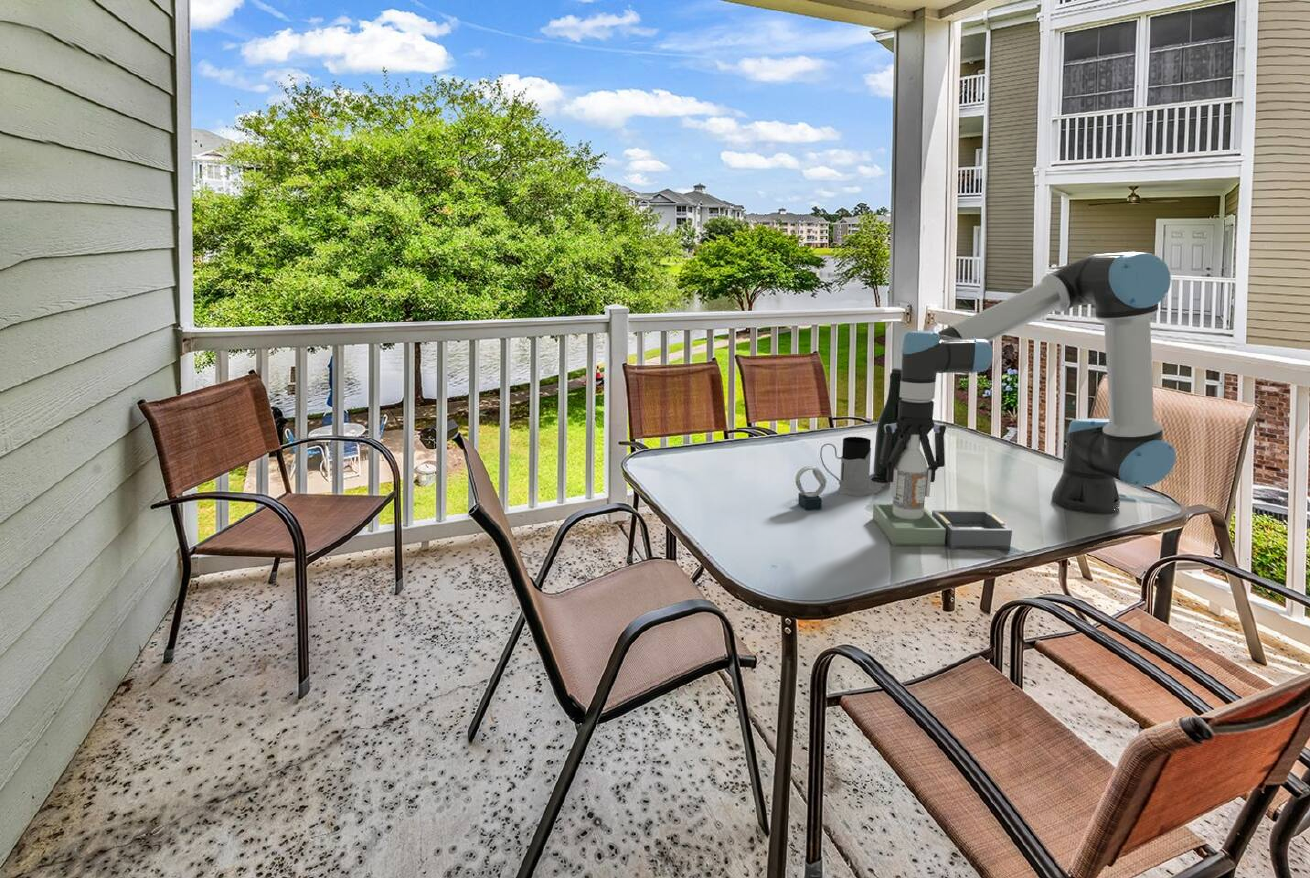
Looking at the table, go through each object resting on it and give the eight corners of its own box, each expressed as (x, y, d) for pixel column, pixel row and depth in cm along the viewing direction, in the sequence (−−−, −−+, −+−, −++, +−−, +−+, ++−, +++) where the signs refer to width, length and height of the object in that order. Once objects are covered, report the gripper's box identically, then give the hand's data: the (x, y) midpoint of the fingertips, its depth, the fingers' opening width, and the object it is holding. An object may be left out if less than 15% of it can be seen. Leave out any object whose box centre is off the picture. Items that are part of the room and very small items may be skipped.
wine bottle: (875, 480, 202) (882, 370, 195) (870, 471, 212) (876, 366, 205) (912, 481, 201) (920, 371, 193) (905, 472, 211) (913, 366, 203)
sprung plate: (982, 526, 162) (982, 523, 162) (1000, 542, 152) (1001, 539, 152) (939, 526, 163) (939, 523, 163) (955, 542, 153) (955, 539, 153)
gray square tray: (985, 528, 164) (987, 509, 163) (1010, 549, 151) (1012, 529, 150) (930, 528, 165) (932, 509, 163) (950, 549, 152) (952, 528, 151)
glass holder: (872, 496, 189) (875, 444, 185) (819, 494, 191) (821, 442, 188) (868, 486, 197) (870, 436, 193) (817, 485, 199) (819, 435, 196)
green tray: (919, 518, 171) (920, 503, 170) (944, 546, 154) (945, 529, 153) (872, 518, 171) (873, 503, 170) (892, 545, 154) (893, 529, 153)
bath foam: (911, 522, 157) (917, 438, 152) (886, 514, 162) (891, 432, 158) (929, 516, 160) (936, 434, 156) (904, 508, 166) (910, 428, 161)
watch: (828, 509, 179) (830, 469, 176) (799, 511, 178) (800, 470, 175) (820, 502, 184) (821, 463, 182) (791, 504, 183) (793, 465, 181)
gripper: (954, 396, 158) (946, 490, 163) (868, 396, 159) (862, 490, 165) (967, 402, 151) (958, 500, 156) (876, 402, 152) (870, 499, 157)
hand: (909, 494), depth 160 cm, fingers closed on bath foam, 7 cm apart
